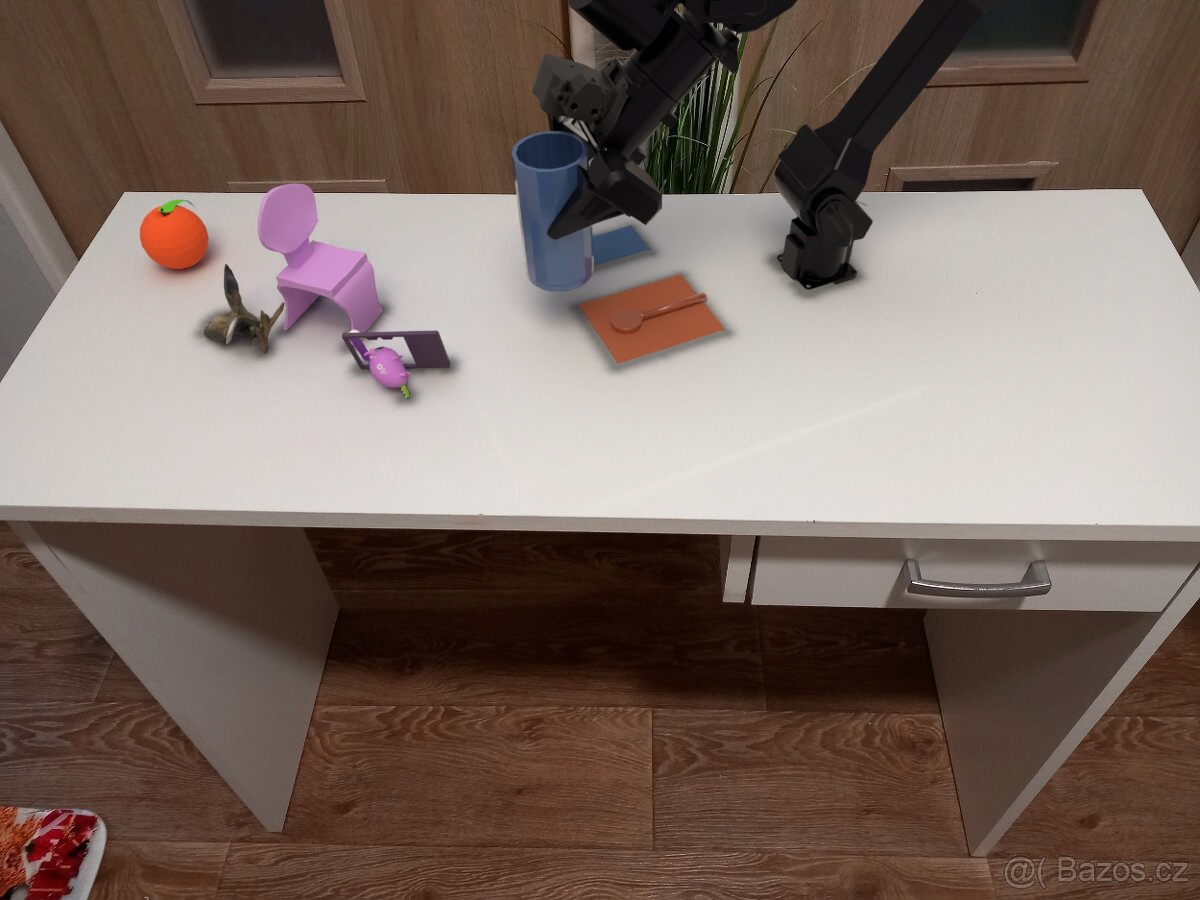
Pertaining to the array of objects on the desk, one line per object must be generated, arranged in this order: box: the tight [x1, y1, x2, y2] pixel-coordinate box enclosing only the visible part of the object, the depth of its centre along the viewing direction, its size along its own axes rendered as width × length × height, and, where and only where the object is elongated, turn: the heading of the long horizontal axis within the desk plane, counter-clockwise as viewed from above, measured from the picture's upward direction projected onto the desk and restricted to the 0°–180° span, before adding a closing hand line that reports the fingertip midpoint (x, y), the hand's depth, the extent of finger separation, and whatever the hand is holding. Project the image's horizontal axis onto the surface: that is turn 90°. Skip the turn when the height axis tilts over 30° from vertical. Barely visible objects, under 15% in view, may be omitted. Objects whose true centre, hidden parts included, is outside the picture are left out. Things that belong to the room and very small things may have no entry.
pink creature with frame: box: [341, 329, 451, 399], centre depth 86 cm, size 7×5×9 cm
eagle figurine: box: [203, 263, 286, 354], centre depth 92 cm, size 8×7×9 cm
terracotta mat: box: [578, 274, 726, 365], centre depth 93 cm, size 12×10×1 cm
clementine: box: [139, 199, 210, 270], centre depth 100 cm, size 8×7×7 cm
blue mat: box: [593, 225, 651, 266], centre depth 101 cm, size 10×5×1 cm, turn 114°
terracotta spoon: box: [611, 292, 708, 334], centre depth 93 cm, size 11×3×1 cm, turn 114°
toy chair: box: [257, 183, 384, 347], centre depth 89 cm, size 8×9×15 cm
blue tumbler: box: [511, 130, 595, 293], centre depth 84 cm, size 7×7×13 cm
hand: (540, 215), depth 83 cm, fingers closed on blue tumbler, 6 cm apart
